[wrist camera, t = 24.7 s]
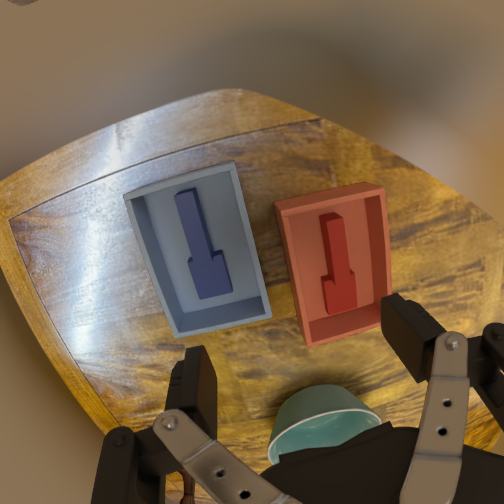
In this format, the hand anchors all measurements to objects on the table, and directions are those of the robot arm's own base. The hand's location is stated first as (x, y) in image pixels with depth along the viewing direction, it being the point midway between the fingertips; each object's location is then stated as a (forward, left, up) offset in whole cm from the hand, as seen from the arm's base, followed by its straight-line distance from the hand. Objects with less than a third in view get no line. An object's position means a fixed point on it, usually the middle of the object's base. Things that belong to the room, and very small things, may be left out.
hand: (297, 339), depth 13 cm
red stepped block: (+6, +7, -19) cm, 21 cm away
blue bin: (+1, -6, -20) cm, 20 cm away
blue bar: (0, -6, -19) cm, 20 cm away
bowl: (+28, +2, -20) cm, 35 cm away
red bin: (+6, +7, -20) cm, 22 cm away
